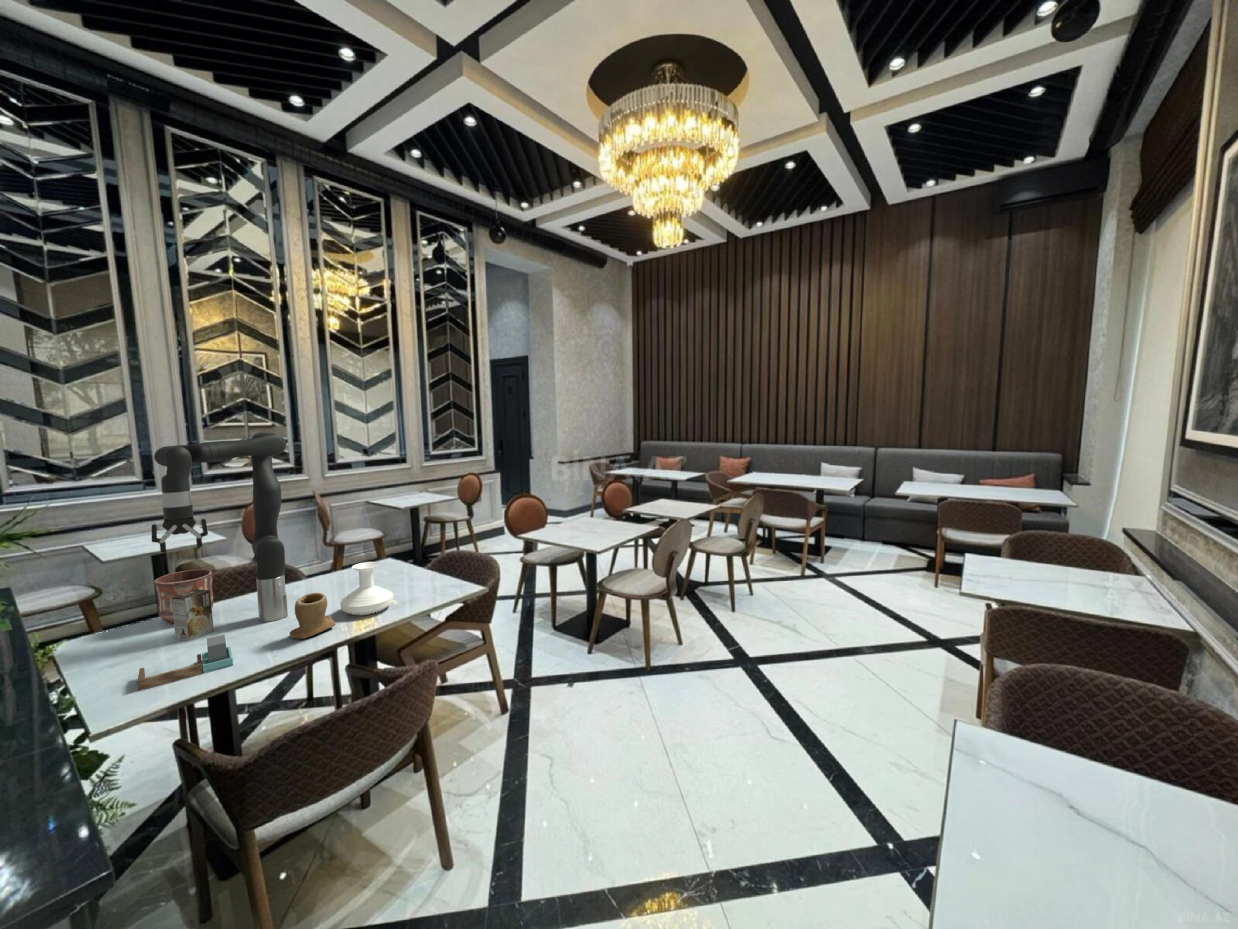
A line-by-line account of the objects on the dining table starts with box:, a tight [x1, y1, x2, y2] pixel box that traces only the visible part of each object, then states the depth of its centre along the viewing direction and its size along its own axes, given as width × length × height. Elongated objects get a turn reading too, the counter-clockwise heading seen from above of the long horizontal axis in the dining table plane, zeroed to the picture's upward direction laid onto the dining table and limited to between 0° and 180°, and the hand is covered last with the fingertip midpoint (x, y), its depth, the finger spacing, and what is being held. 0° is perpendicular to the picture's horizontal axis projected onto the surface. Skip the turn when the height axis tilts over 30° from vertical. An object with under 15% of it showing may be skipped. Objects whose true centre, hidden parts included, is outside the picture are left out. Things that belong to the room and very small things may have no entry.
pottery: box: [153, 568, 214, 625], centre depth 194 cm, size 18×18×18 cm
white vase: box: [339, 561, 394, 616], centre depth 203 cm, size 20×20×19 cm
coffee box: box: [172, 590, 215, 642], centre depth 179 cm, size 9×6×16 cm
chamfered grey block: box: [206, 634, 227, 663], centre depth 158 cm, size 5×8×7 cm, turn 42°
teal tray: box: [201, 646, 234, 674], centre depth 158 cm, size 7×11×2 cm
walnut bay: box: [137, 653, 203, 691], centre depth 150 cm, size 14×10×3 cm
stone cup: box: [289, 592, 337, 639], centre depth 181 cm, size 15×12×15 cm
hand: (181, 551), depth 165 cm, fingers open, 8 cm apart
